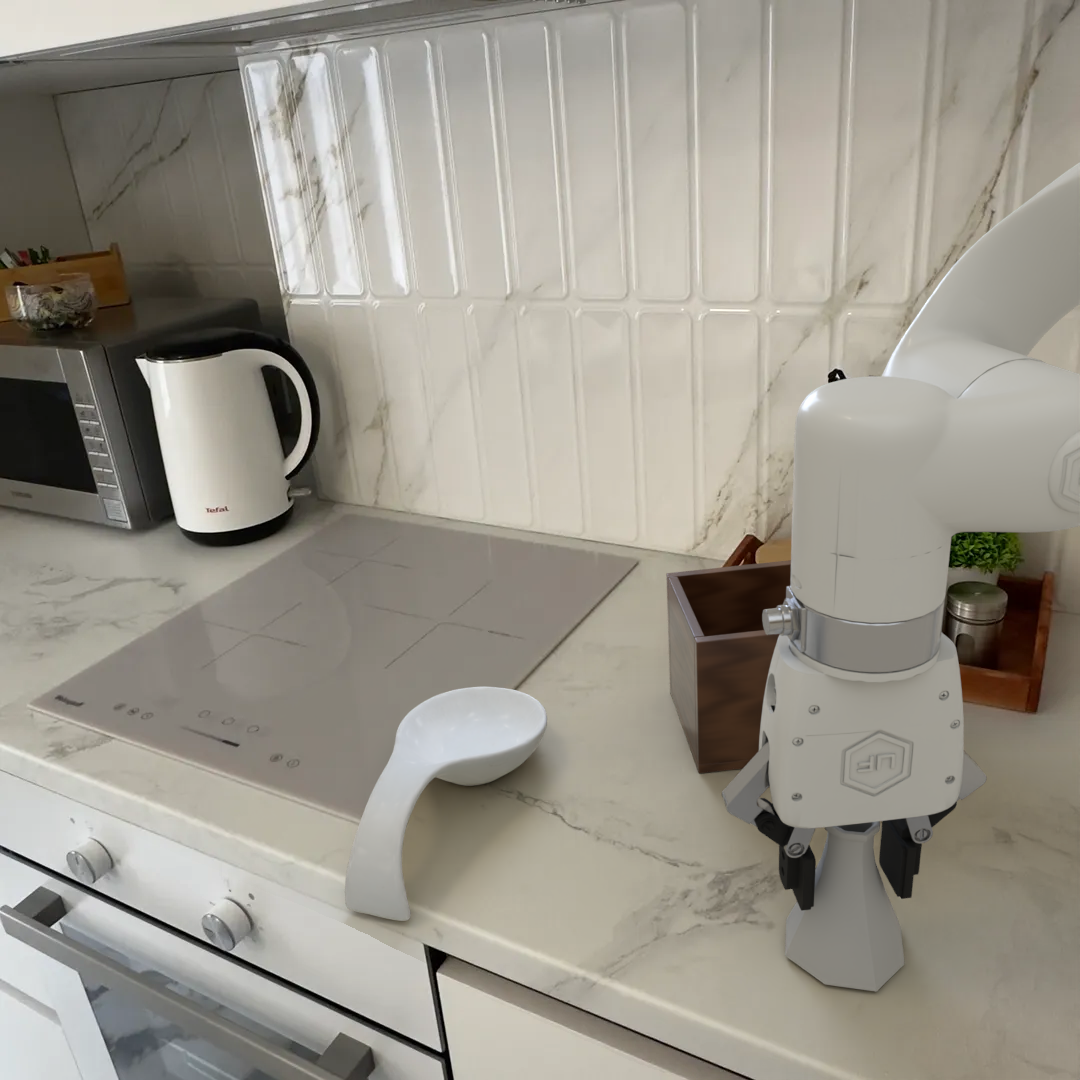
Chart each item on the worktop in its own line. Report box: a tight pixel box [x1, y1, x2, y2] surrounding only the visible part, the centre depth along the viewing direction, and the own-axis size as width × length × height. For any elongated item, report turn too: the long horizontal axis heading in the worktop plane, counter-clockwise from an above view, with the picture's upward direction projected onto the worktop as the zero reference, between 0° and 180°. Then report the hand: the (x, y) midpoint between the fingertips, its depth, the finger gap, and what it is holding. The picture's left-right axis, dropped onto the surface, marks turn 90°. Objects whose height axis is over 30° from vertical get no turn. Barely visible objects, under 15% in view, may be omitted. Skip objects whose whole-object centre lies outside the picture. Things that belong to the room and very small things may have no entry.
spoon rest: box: [344, 686, 548, 922], centre depth 73 cm, size 24×12×7 cm, turn 162°
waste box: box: [665, 559, 791, 774], centre depth 79 cm, size 14×12×12 cm
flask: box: [784, 821, 905, 992], centre depth 58 cm, size 7×7×10 cm
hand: (847, 884), depth 58 cm, fingers open, 5 cm apart
